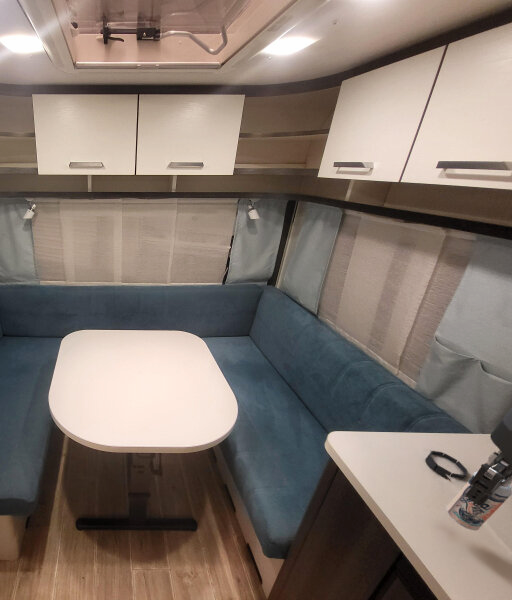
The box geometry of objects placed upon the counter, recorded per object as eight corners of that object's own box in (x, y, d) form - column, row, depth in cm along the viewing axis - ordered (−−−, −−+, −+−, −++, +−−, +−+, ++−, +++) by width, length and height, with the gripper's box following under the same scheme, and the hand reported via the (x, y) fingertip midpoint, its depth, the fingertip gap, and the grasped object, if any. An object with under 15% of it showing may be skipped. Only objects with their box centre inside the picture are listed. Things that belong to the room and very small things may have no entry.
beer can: (445, 518, 61) (478, 480, 56) (443, 501, 65) (475, 463, 60) (479, 537, 59) (517, 498, 53) (476, 518, 62) (512, 479, 57)
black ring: (448, 459, 80) (452, 453, 79) (470, 484, 74) (475, 478, 73) (418, 454, 81) (422, 448, 80) (438, 478, 75) (443, 472, 74)
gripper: (551, 463, 46) (487, 529, 53) (594, 439, 50) (529, 503, 58) (483, 425, 52) (434, 489, 59) (526, 406, 57) (476, 468, 64)
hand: (481, 495), depth 58 cm, fingers closed on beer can, 4 cm apart
